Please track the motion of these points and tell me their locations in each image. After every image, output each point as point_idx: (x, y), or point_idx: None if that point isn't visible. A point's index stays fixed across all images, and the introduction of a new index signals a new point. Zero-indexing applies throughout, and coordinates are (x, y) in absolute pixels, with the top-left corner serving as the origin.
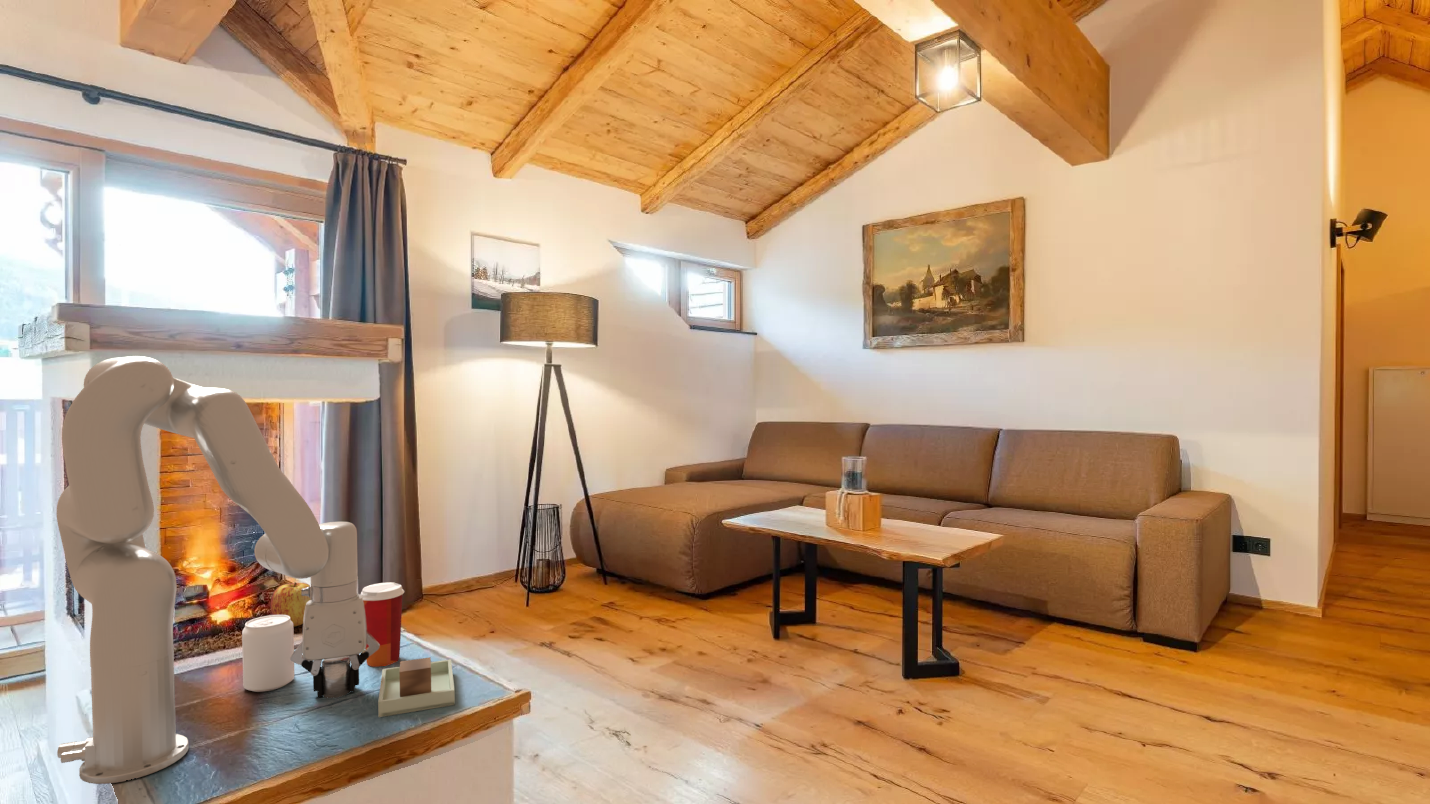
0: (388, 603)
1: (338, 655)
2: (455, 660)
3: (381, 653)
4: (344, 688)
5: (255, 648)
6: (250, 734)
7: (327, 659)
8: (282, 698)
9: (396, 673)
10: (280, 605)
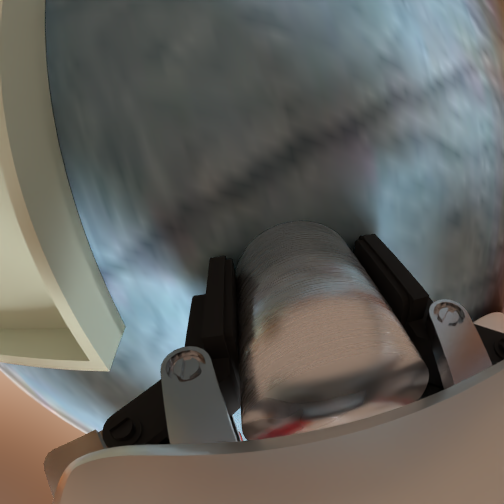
0: None
1: (346, 445)
2: (23, 388)
3: None
4: (255, 259)
5: None
6: (495, 11)
7: None
8: (462, 267)
9: (65, 343)
10: None
